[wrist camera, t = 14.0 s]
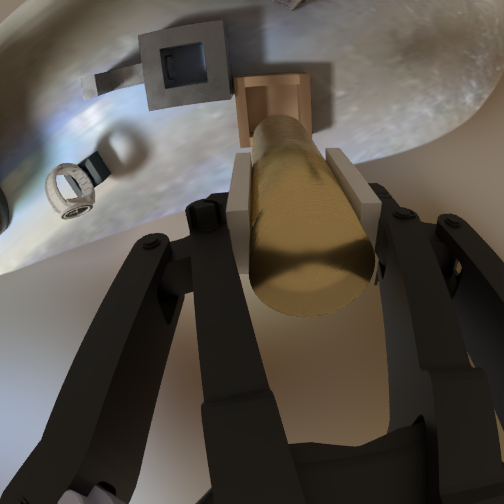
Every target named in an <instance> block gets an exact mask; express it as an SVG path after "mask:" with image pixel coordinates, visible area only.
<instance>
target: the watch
mask: <svg viewBox="0 0 504 504" xmlns="http://www.w3.org/2000/svg"><path fill="white" fill-rule="evenodd" d="M110 174H111V172H110V171H109V169H108V168H107V166H106V165H105V163H104V162H103V160H102V158H101V157H100V155H99V154H98V152H97V151H96V152H95V153H93V154H92V155H90V156H89V157H88V158H86V159H85V160H83V161H82V162H81V163H79V164H78V165H76V164H72V163H63V164H60V165H58V166H57V167H56V168H55V169H53V170H52V172H51V173H50V174H49V175H48V177H47V178H46V182H45V191H46V195H47V198H48V200H49V202H50V204H51V206H52V207H53V208H54V211H55V212H56V213H57V214H59V215H60V217H61V219H71V218H75V217H78V216H80V215H83V214H85V213H86V212H88V211H89V210H91V209H92V208H93V204H94V203H95V190H94V187H96V186H97V185H99V184H100V183H102V182H103V181H104V180H105V179H106V178H107V177H108V176H109V175H110ZM56 175H64V177H65V178H66V180H67V181H68V183H69V184H70V186H71V187H72V189H73V190H74V192H75V193H76V195H77V196H78V197H77V198H73V199H67V200H65V199H64V198H62V197H63V196H62V195H61V193H60V192H59V189H58V187H57V182H56ZM52 194H53V195H52ZM82 195H83V197H81V196H82ZM61 198H62V199H61ZM55 200H56V201H55ZM53 204H54V205H53Z"/></svg>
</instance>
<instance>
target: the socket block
mask: <svg viewBox="0 0 504 504" xmlns="http://www.w3.org/2000/svg"><path fill="white" fill-rule="evenodd" d="M138 40H139V48H140V55H141V63H142V70H143V76H144V83H145V89H146V95H147V102H148V107H149V111H153V110H159V109H164V108H170V107H176V106H183V105H189V104H196V103H204V102H212V101H220V100H230V99H231V98H232V96H233V88H232V78H231V68H230V59H229V49H228V39H227V29H226V23H225V22H224V21H223V20H216V21H209V22H202V23H195V24H189V25H184V26H178V27H173V28H168V29H163V30H159V31H154V32H150V33H146V34H142V35H138ZM198 44H204V52H205V61H206V70H207V78H208V80H205V81H198V82H191V83H185V84H179V85H174V80H169V81H168V77H167V70H166V62H165V56H167V55H170V49H174V48H180V47H185V46H191V45H198Z"/></svg>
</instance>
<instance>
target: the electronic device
mask: <svg viewBox="0 0 504 504" xmlns="http://www.w3.org/2000/svg"><path fill="white" fill-rule="evenodd" d="M271 1H274V2H276V3H278V4H280V5H282V6H284V7H286V8H289V9H291V10H294V9H295V8H296V7H297V6H298V5H299V4H300V3H301V2H302V3H303V2H305V1H306V0H271Z"/></svg>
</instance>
